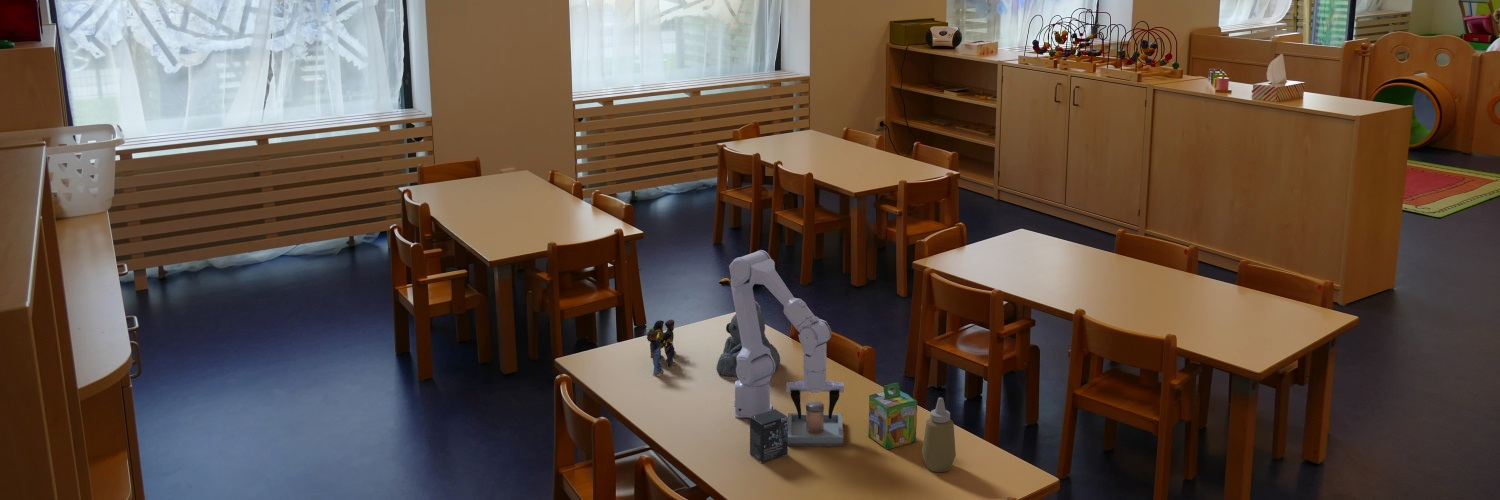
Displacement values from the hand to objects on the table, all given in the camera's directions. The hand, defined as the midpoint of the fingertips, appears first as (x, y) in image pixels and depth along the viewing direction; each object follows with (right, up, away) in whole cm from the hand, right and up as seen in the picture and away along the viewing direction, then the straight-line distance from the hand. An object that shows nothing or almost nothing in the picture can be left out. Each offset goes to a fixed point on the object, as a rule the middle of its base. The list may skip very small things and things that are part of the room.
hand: (814, 417), depth 300 cm
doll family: (-42, +9, +47) cm, 64 cm away
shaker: (0, -3, +1) cm, 4 cm away
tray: (0, -4, +1) cm, 5 cm away
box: (-12, -8, -10) cm, 17 cm away
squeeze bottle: (+29, -10, -17) cm, 35 cm away
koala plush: (-17, +8, +44) cm, 48 cm away
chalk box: (+19, -5, -2) cm, 20 cm away
